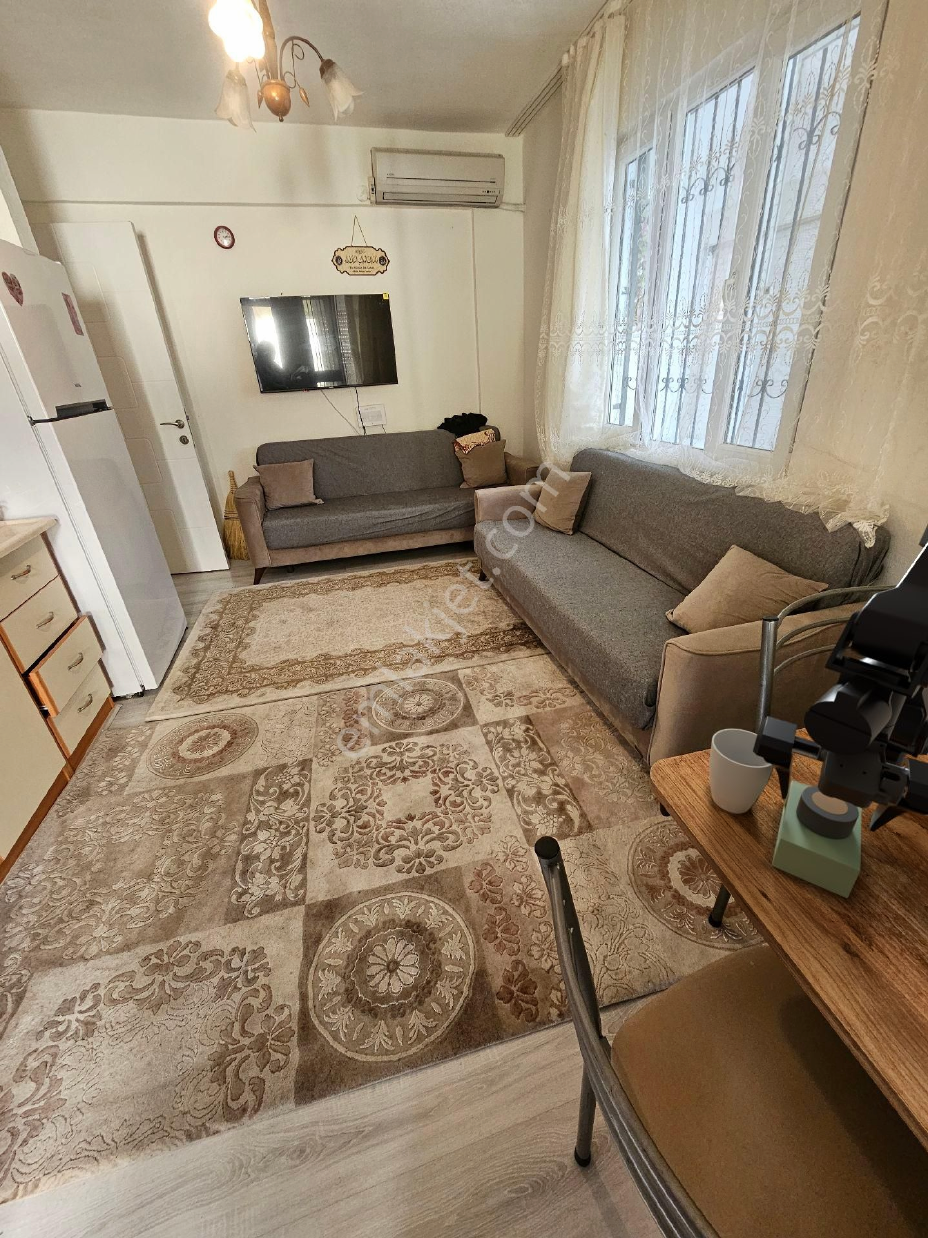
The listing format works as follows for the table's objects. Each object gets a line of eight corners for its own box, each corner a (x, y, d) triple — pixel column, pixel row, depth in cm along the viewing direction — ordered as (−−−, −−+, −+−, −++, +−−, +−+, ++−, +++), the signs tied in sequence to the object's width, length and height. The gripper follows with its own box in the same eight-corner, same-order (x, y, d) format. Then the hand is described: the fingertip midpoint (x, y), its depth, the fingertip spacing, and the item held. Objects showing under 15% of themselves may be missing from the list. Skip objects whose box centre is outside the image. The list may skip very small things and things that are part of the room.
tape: (798, 796, 68) (804, 778, 67) (852, 815, 65) (859, 797, 64) (793, 825, 64) (799, 808, 63) (850, 848, 61) (858, 829, 59)
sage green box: (783, 806, 73) (791, 780, 71) (850, 831, 69) (862, 804, 67) (771, 866, 65) (780, 838, 62) (847, 899, 60) (860, 870, 58)
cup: (769, 825, 70) (786, 770, 66) (707, 817, 72) (719, 763, 67) (751, 783, 77) (766, 731, 73) (695, 777, 79) (706, 726, 75)
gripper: (759, 721, 56) (732, 822, 63) (988, 790, 46) (926, 901, 53) (773, 676, 64) (748, 769, 71) (971, 726, 54) (919, 829, 61)
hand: (825, 812), depth 64 cm, fingers open, 9 cm apart
